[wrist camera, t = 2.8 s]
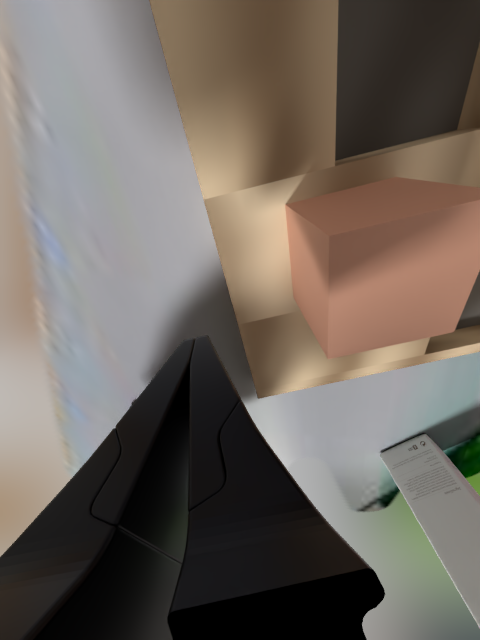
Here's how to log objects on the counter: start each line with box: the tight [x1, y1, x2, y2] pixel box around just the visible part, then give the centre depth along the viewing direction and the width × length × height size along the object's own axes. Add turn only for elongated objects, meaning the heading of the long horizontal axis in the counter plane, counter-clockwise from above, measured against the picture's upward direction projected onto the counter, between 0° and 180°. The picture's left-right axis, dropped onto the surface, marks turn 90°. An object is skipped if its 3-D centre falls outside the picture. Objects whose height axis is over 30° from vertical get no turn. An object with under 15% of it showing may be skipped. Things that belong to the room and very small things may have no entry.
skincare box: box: [380, 434, 480, 628], centre depth 25 cm, size 8×7×16 cm
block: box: [285, 177, 480, 359], centre depth 10 cm, size 5×5×5 cm
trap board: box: [149, 0, 480, 399], centre depth 11 cm, size 24×22×5 cm
